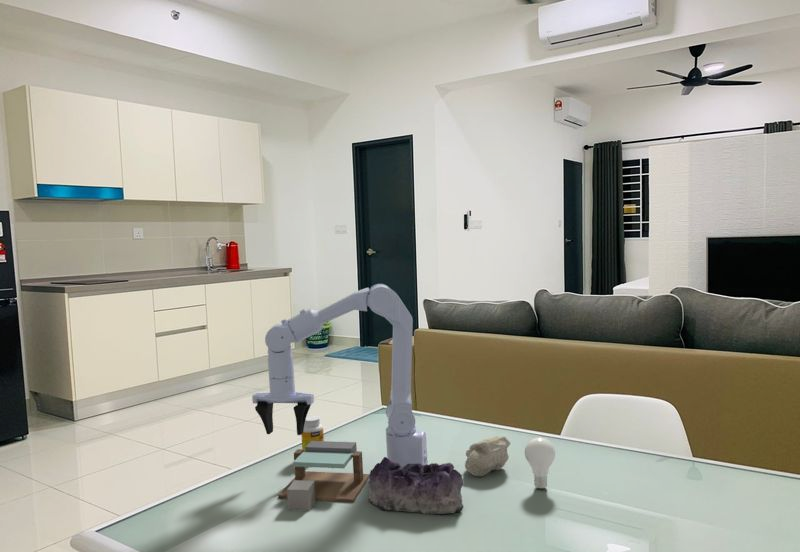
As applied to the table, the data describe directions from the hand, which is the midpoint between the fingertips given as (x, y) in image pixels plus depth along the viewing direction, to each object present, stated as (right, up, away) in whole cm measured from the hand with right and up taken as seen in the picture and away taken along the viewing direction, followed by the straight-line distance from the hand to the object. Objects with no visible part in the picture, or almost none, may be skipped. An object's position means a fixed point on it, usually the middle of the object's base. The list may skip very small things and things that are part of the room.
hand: (285, 433), depth 138 cm
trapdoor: (+10, -5, -5) cm, 12 cm away
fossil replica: (+47, -9, -1) cm, 48 cm away
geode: (+30, -11, -16) cm, 36 cm away
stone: (+6, -11, -14) cm, 19 cm away
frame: (+10, -10, -6) cm, 16 cm away
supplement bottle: (+5, -10, +12) cm, 16 cm away
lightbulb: (+57, -9, -12) cm, 59 cm away
